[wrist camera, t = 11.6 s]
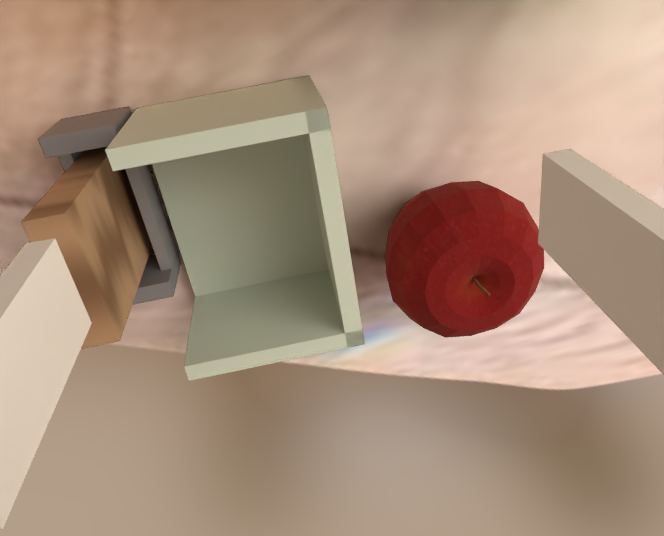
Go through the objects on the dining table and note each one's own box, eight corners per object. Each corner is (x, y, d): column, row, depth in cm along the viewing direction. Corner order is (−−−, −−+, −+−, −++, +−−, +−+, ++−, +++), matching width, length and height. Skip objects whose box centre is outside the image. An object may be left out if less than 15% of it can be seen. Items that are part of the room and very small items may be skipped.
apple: (454, 127, 42) (520, 179, 32) (523, 224, 47) (599, 296, 37) (340, 218, 45) (368, 294, 34) (416, 302, 49) (460, 391, 39)
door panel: (76, 150, 40) (6, 225, 28) (117, 141, 40) (64, 213, 28) (115, 250, 43) (69, 351, 32) (153, 242, 44) (119, 341, 32)
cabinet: (61, 119, 38) (7, 164, 30) (308, 72, 39) (326, 103, 30) (138, 315, 46) (112, 396, 38) (342, 273, 47) (364, 343, 38)
